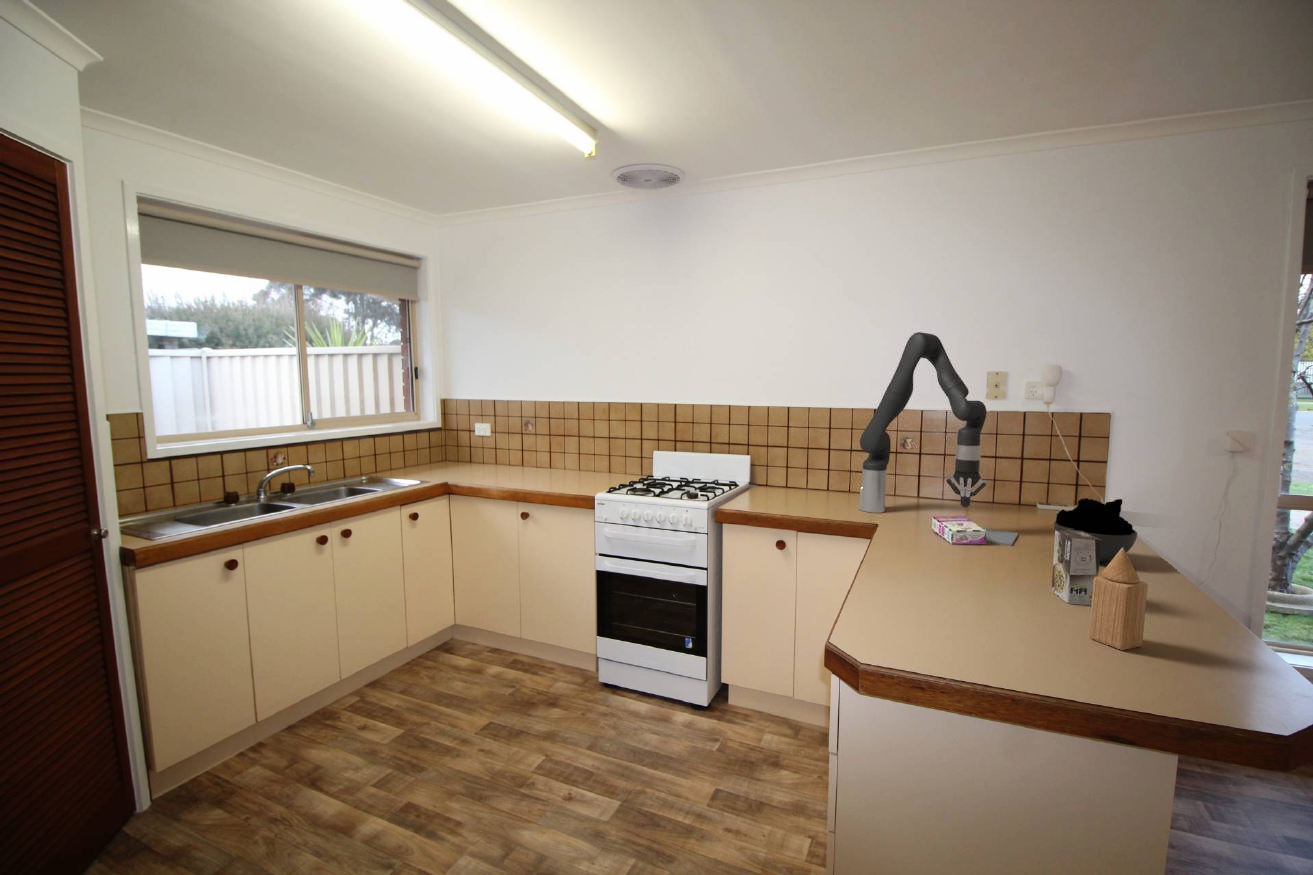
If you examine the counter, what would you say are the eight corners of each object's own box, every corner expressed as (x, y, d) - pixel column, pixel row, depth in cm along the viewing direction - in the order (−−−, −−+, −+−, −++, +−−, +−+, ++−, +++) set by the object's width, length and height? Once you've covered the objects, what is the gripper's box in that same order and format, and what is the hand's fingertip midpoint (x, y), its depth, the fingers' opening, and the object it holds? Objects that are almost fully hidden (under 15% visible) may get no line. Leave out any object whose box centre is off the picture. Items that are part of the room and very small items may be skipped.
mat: (957, 537, 201) (957, 535, 201) (967, 527, 216) (967, 525, 215) (1011, 545, 192) (1011, 543, 192) (1018, 534, 206) (1018, 532, 206)
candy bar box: (931, 530, 209) (950, 545, 193) (931, 516, 208) (951, 530, 192) (964, 529, 208) (986, 544, 192) (964, 515, 207) (986, 529, 191)
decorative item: (1087, 638, 122) (1094, 543, 120) (1108, 633, 125) (1116, 540, 123) (1122, 652, 116) (1130, 552, 114) (1143, 646, 119) (1152, 549, 117)
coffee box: (1097, 606, 140) (1102, 539, 138) (1067, 604, 141) (1072, 538, 140) (1078, 592, 149) (1083, 530, 147) (1050, 590, 150) (1054, 528, 149)
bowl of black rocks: (1055, 564, 172) (1060, 500, 171) (1047, 547, 190) (1051, 489, 188) (1142, 574, 163) (1148, 507, 161) (1125, 556, 181) (1130, 495, 179)
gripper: (944, 457, 207) (942, 506, 208) (987, 460, 199) (984, 511, 200) (949, 455, 213) (946, 503, 214) (990, 458, 205) (988, 507, 206)
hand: (965, 506), depth 207 cm, fingers closed
